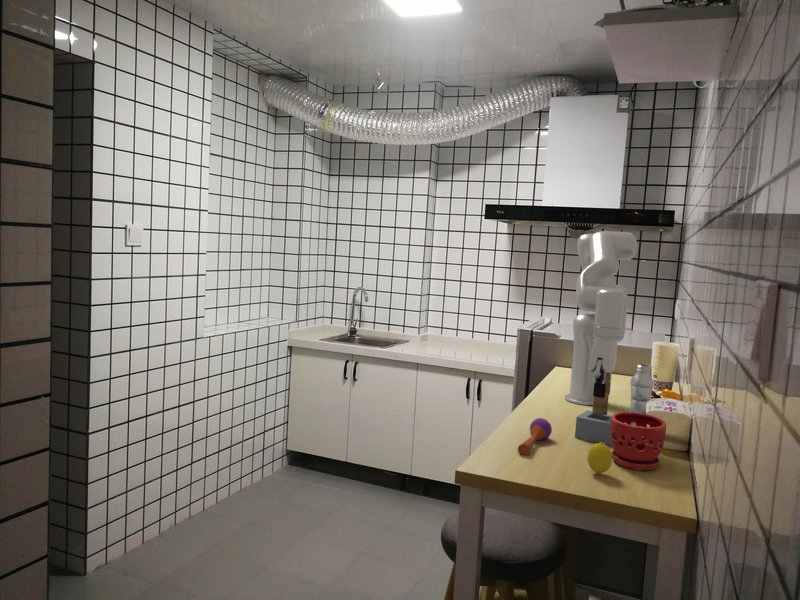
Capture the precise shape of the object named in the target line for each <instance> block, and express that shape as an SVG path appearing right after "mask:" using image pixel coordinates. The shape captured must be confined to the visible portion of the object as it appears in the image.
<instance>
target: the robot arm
mask: <svg viewBox="0 0 800 600" xmlns="http://www.w3.org/2000/svg"><path fill="white" fill-rule="evenodd" d="M576 249H577V254H578V259H579V263H580V267H581V272H580V274H579V276H578V278H577V280H576V286H575V287H576V288H575V290H576V291H575V292H576V293H575V296H576V297H575V299H576V300H575V301H576V306H577V307H578V309H579V310H581V311H584V312H585V313H580V314H577V315H576V316H575V317H574V319H573V323H572V325H573V326H572V328H573V331H572V332H573V351H572V352H573V353H572V364H571V373H570V374H571V375H570V377H571V378H570V385H569V393H566V394H565V395H564V400H566V401H568V402H570V403H573V404H577V405H585V406H593V400H594V397H600V398H605V391H606V384H605V380H606V374H607V373H609V372H611V374H612V372H613V371H614V370H615V369H616V365H617V355H618V343H620V342H622V341H623V339H624V337H625V332H626V324H627V313H628V312H627V310H628V298H629V297H628V292H627V288H625V287H624V286H623V285H621V284H612V283H607V280H609V279H610V278H612V277H614V276H615V275H616V274H617V273H618V272H619V270H620V263H619V261H628V260H632V259H633V258H635V255H636V253H637V250H638V242H637V238H636V237H635V235H634V234H633V233H632V232H626V231H607V230H603V231H602V230H601V231H597V232H594V233H585V234H581V235H580V236H579V237H578V239H577V248H576ZM586 312H587V313H586ZM589 312H594V313H589ZM601 370H602V371H603V372H604V373H601ZM601 375H603V377H602V376H601ZM611 381H612V375H611V376H610V387H609V395H610V394H611V385H612V384H611V383H612V382H611Z"/></svg>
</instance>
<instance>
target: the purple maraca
mask: <svg viewBox="0 0 800 600" xmlns="http://www.w3.org/2000/svg"><path fill="white" fill-rule="evenodd" d="M529 431H530V432H529V433H530V437H529V438H527V439H526V440H525V441H523V442H522V443H521V444H519V445H518V446H517V447H518V448H517V452H518V453H519V455H520V456H524V455H525V456H526V457H528V456H529V455H530V454H531V453H532V449H533V447H534V445H535V443H536V441H542V440H546V439H548V438H549V437H550V436H551V434H552V431H553V428H552V425H551V422H549V421H548V420H547V419H546V418H541V417H539V418H535V419H534V420H533V421H532V422H531V424H530V425H529Z"/></svg>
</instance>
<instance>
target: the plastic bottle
mask: <svg viewBox="0 0 800 600" xmlns="http://www.w3.org/2000/svg"><path fill="white" fill-rule="evenodd" d="M650 373H651V365H649V364H643V363H638V364H637V366H636V372H635V373H634V375H633V376H632V377H631V379H630V404H629V408H628V412H634V413H642V414H646V404H647V402H648V401H649V400H650V401H651V397H652V392H653V388H654V380H653V378H652V377H651V375H650ZM631 425H633V426H636V423H635V422H632V423H631ZM640 427H642V426H640Z"/></svg>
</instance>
